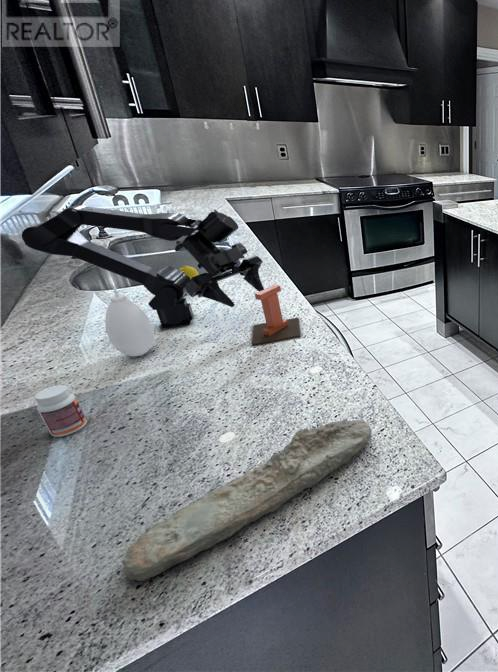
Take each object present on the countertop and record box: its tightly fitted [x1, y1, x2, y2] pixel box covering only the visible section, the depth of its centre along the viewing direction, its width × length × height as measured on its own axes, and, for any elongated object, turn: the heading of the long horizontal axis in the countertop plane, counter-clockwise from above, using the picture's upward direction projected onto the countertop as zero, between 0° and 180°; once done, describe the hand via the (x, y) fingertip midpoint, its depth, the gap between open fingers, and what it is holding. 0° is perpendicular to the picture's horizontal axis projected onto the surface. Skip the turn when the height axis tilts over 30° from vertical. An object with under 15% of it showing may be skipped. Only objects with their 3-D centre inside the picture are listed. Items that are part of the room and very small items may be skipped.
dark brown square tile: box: [251, 317, 302, 347], centre depth 109 cm, size 11×11×1 cm
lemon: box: [178, 265, 200, 279], centre depth 130 cm, size 6×6×8 cm
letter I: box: [254, 284, 288, 336], centre depth 107 cm, size 2×6×12 cm, turn 163°
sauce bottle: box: [104, 285, 156, 357], centre depth 94 cm, size 8×8×18 cm
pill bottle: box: [34, 384, 88, 438], centre depth 73 cm, size 5×5×8 cm
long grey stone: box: [121, 419, 372, 582], centre depth 64 cm, size 35×5×10 cm
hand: (249, 299), depth 108 cm, fingers open, 9 cm apart
